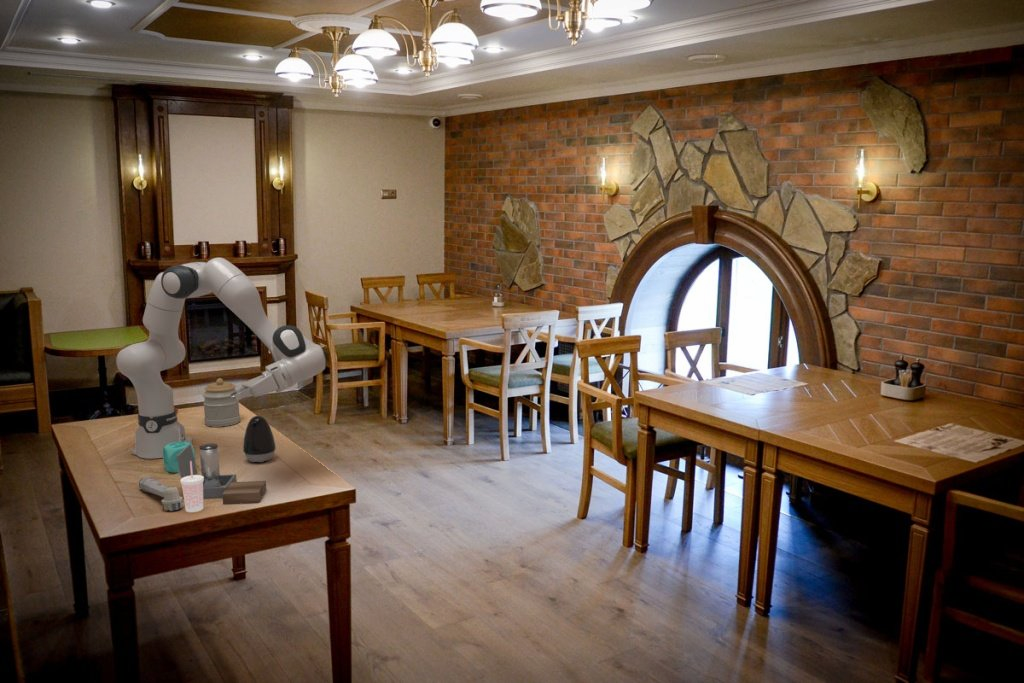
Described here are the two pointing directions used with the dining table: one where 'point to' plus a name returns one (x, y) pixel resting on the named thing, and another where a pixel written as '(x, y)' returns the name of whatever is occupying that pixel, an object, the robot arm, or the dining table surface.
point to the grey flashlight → (162, 493)
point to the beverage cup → (193, 491)
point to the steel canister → (210, 465)
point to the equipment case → (184, 471)
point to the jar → (220, 404)
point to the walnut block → (244, 492)
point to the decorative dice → (174, 455)
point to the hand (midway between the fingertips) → (233, 397)
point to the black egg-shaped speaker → (258, 440)
